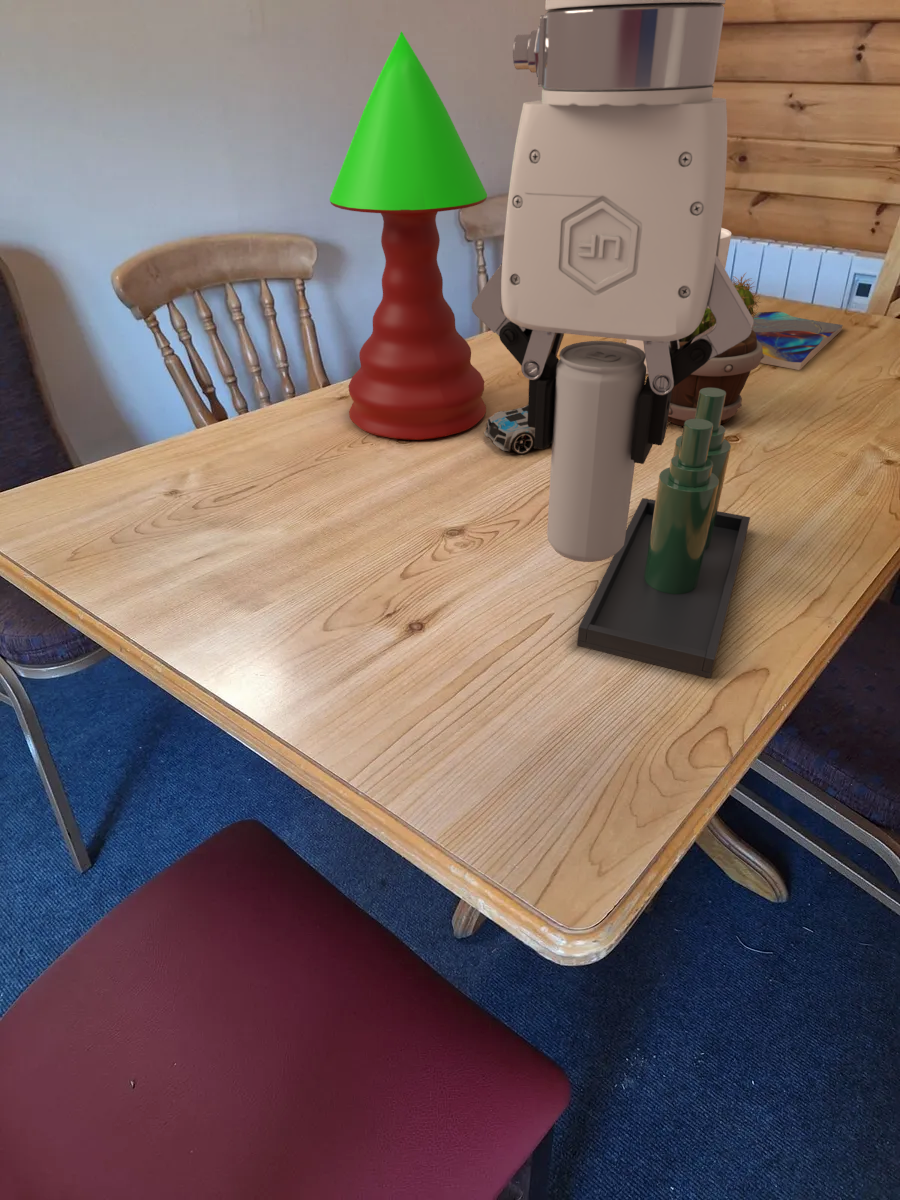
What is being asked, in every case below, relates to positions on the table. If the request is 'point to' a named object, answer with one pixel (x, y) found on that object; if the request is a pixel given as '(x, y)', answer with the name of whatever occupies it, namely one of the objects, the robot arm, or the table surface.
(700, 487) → the middle bottle
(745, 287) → the flowerpot
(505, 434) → the toy car
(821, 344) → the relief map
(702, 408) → the far bottle
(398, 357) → the table lamp
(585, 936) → the table surface
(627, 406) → the beverage can
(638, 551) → the tray
